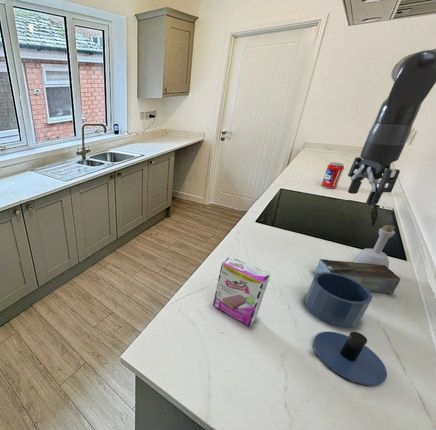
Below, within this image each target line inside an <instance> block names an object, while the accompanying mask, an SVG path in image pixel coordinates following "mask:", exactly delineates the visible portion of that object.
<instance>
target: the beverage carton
mask: <svg viewBox="0 0 436 430" xmlns="http://www.w3.org/2000/svg"><path fill="white" fill-rule="evenodd" d="M322 272H332V273H336V274H341V275H344V276H346V277H349V278H352V279H354V280H355V281H357V282H359V283H361V284H362V285H363V286H365V287H366V288H367V289H368V290H369V291H370V292H375V293H383V294H389V295H394V293H395V290H396V289H397V287H398V285H399V283H400V282H401V277H399V276H398V275H397V274H396V273H394V271H392V270H391V269H390V268H387V267H386V266H385V265H378V264H367V263H355V262H354V261H343V260H333V259H324V258H320V259H319V261H318V264H317V266H316V269H315V272H314V273H315V275H316V274H318V273H322Z"/></svg>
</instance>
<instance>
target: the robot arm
mask: <svg viewBox="0 0 436 430" xmlns="http://www.w3.org/2000/svg"><path fill="white" fill-rule="evenodd" d="M390 76H391V80H392V82H393V84H392V86H391V89H390V92H389V93H388V96H387V98H386V99H384V100H383V102H382V103H381V105H380V107H379V110H378V112H377V114H376V118H375V120H374V122H373V124H372V126H371V128H369V129H370V130H369V131H368V134H367V136H366V139H365V141H364V144H363V147H362V150H361V152H360V154H359V156H358V157H357V156H356V157H355V158H354V160H353V162H352V164H351V167H350V169H349V171H348V173H347V176H348V177H349V178H350V181H351V183H350V185H349V187H348V190H347V193H348V194H353V195H356V194H358V192H359V190H360V188H361V185H362V182H363V180H365V179H367V180H368V183H369V185H370V187H371V190H370V192H369V195H368V196H367V199H366V201H365V204H367V206H376V205H377V204H379V202H380V199H381V198H382V195H383V194H384V193H392V191H393V189H394V187H395V185H396V183H397V180H398V178H399V175H400V173H401V171H400V169H394V168H391V165H392V164H393V163H394V162H395V163H396V162H397V161H398V160H399V159H400V156H401V155H402V153H403V151H404V148H405V146H406V143H407V141H408V139H409V137H410V135H411V132H412V128H413V125H414V123H415V121H416V118H417V116H418V115H419V112H420V109H421V106H422V104H423V102H424V101H425V100H426V98H427V97H428V96H429V94H430V92H431V91H432V89H433V88H434V86H435V85H436V48H434V49H425V50H421V51H417V52H414V53H410V54H408V55H406V56H404V57H402V58H401V59H400V60H399V61H398V62H396V63H395V65H394V66H393V68H392V70H391V73H390ZM386 184H387V186H386Z"/></svg>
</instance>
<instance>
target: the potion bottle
mask: <svg viewBox="0 0 436 430" xmlns="http://www.w3.org/2000/svg"><path fill="white" fill-rule="evenodd" d="M395 228H396V226H394V225H385V224H383V226H382V227H380V228H379V229H378V235H379V237H378V238H377V241H376V242H375V245H374V246H373V248H369V247H368V248H363V249H361V250H360V251H359V252H358V253H357V254H356V255H355V256H354V257H353V262H355V263H367V264H378V265H385V266H386V267H387V268H388V269H390V260H389V257H388V255H387V253H385V252H383V250H384V248H385V246H386V244H387V242H388V240H389V239H390V238H392V237H394V235H395V234H396V232H395Z"/></svg>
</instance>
